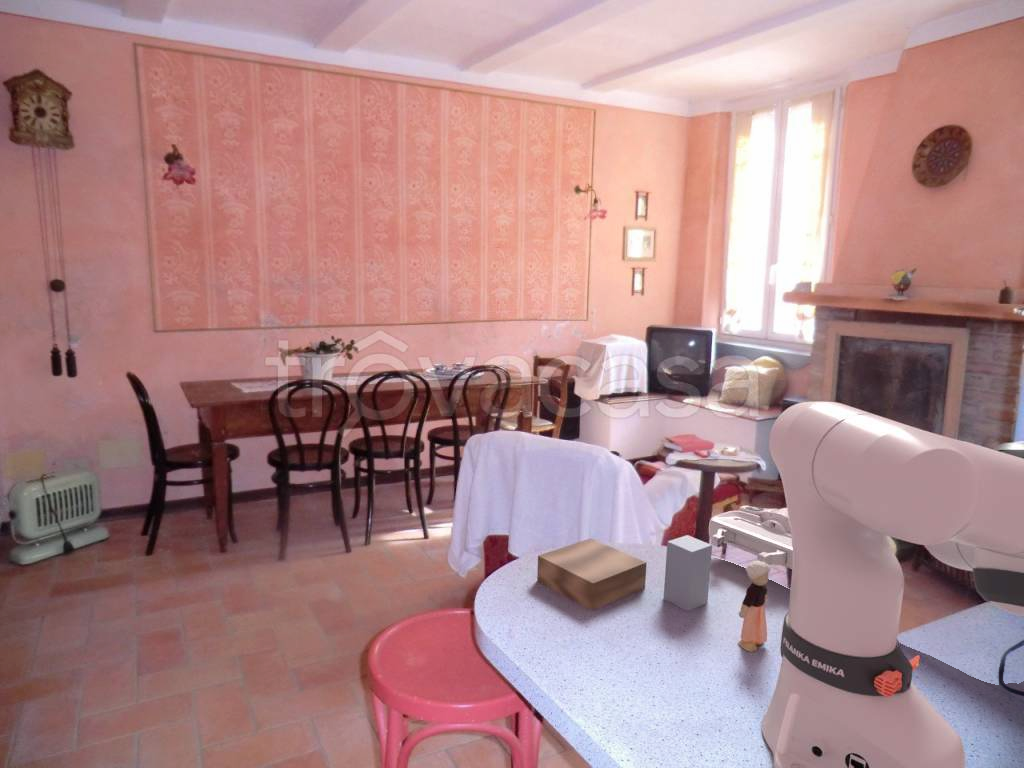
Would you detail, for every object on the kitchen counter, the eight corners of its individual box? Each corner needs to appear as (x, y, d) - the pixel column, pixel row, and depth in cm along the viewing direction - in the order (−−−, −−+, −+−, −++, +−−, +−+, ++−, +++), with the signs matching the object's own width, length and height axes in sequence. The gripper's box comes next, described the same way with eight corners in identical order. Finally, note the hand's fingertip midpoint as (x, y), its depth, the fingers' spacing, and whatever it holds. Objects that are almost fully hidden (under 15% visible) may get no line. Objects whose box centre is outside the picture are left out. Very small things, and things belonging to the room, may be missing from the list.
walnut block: (644, 590, 117) (646, 562, 116) (591, 612, 109) (593, 583, 108) (589, 563, 127) (590, 538, 126) (537, 582, 119) (538, 555, 118)
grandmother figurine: (759, 658, 96) (767, 574, 94) (732, 650, 98) (739, 566, 96) (772, 635, 103) (780, 555, 101) (746, 627, 105) (753, 549, 103)
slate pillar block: (707, 602, 112) (712, 545, 111) (687, 611, 109) (692, 552, 108) (683, 591, 116) (687, 535, 115) (663, 598, 113) (667, 541, 112)
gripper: (834, 570, 120) (789, 591, 112) (734, 532, 136) (689, 548, 128) (837, 536, 119) (793, 554, 111) (737, 502, 135) (691, 516, 127)
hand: (736, 550), depth 120 cm, fingers open, 8 cm apart
